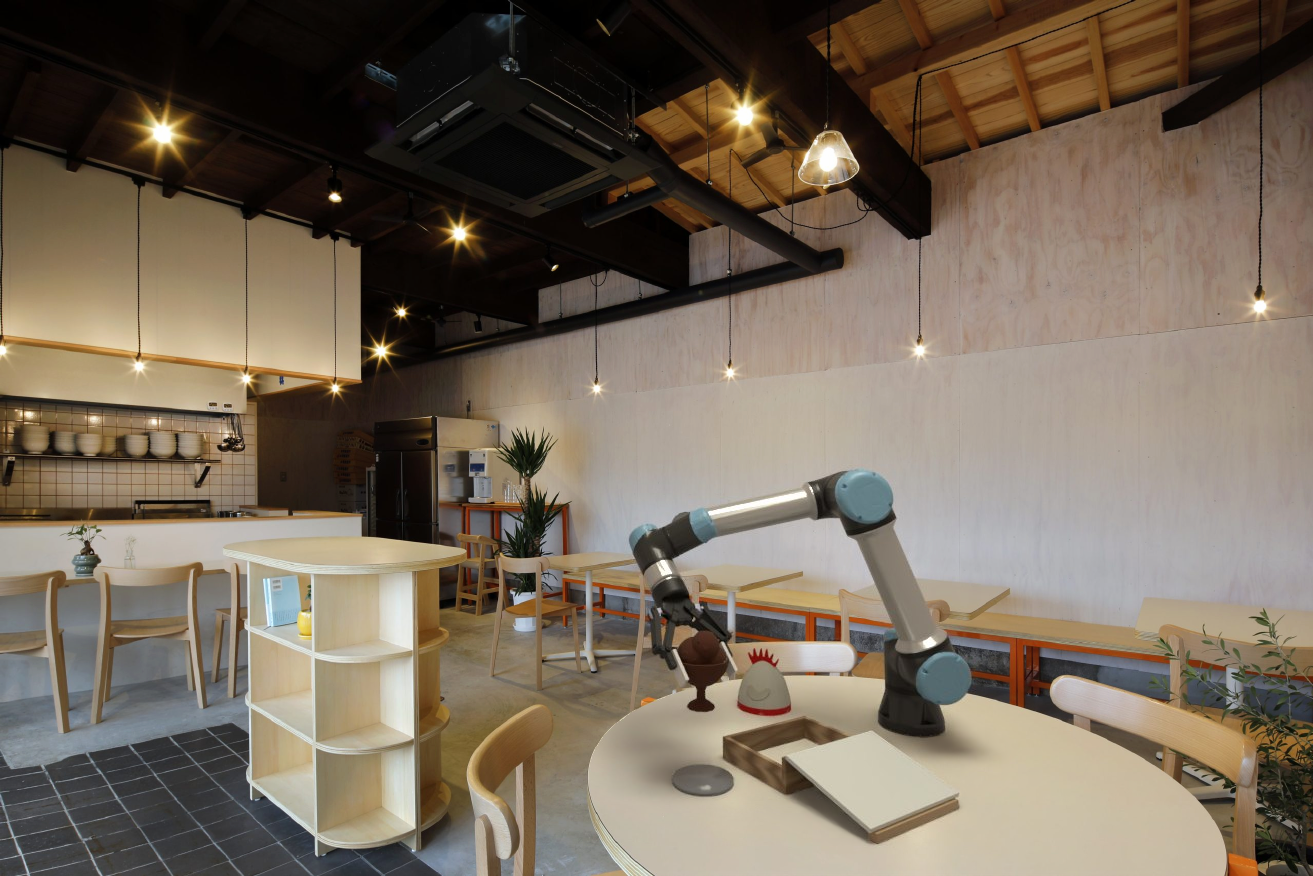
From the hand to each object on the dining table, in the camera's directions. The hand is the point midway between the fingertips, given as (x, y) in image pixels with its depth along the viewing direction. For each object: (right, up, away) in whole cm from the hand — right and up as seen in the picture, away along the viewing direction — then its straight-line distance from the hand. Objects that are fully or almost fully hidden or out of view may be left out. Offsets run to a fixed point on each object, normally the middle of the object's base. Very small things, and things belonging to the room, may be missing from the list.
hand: (709, 678), depth 125 cm
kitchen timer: (+18, -24, +44) cm, 53 cm away
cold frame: (+19, -21, +10) cm, 30 cm away
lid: (+29, -20, -6) cm, 36 cm away
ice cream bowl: (-2, -7, +2) cm, 7 cm away
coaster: (-1, -20, +1) cm, 20 cm away
